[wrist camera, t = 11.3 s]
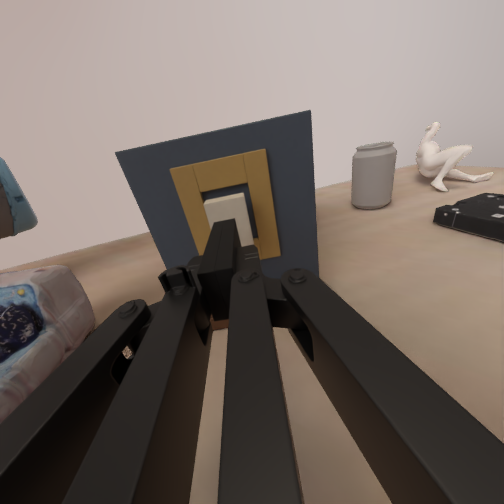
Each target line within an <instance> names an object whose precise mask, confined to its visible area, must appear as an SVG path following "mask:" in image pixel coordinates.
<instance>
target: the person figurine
mask: <svg viewBox="0 0 504 504" xmlns="http://www.w3.org/2000/svg"><path fill="white" fill-rule="evenodd" d="M439 128H440V123H438V122H434V123H433V124H432V125H431V126H427V128H426V131H428V130H429V132H427V133H426V135H425V137H424V138H423V139H422V140H421V142H420V146H419V149H418V151H417V153H416V156H417V158H416V162H417V165H418V170H419V172H420V173H421V174H422V175H423V176H425V177H434V176H437V177H436V178H435V179H434V180H433V182H432V183H431V185H432V186H434V187H436V188H437V189H439V190H442V191H445V192H448V191H449V190H448V189H447V188H446V187H445V186H444V184H443V182H442V179H443V177H444V176H445V175H446V176H447V177H448V178H457V179H465V180H469V181H472V182H474V183H475V182H480V181H485V180H488V179H489V178H490V177H491V176H492V175H493V173H494V172H490V173H486V174H482V175H468V174H465V173H463V172H461V171H459V170H458V169H452V168H453V167H454V166H456V164H457V163H458V162H459V161H460V160H462V159H463V158H464V157H465V156H467V155H468V154H469V153H470V152H471V151H472V150H473V146H472V145H461V146H460V145H459V146H453V147H450V148H447V149H444V150H442V151H441V150H440V147H439V145H438V144H437V143H436V142H434V141H431V139H432V138H433V137H434V136H435V135H436V133H437V131H438V129H439Z"/></svg>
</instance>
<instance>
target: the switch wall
mask: <svg viewBox="0 0 504 504" xmlns="http://www.w3.org/2000/svg"><path fill="white" fill-rule="evenodd" d="M115 154H116V156H117V159H118V161H119V163H120V165H121V168H122V170H123V172H124V174H125V177H126V179H127V181H128V183H129V185H130V187H131V190H132V192H133V195H134V197H135V199H136V201H137V204H138V206H139V208H140V210H141V212H142V215H143V217H144V219H145V221H146V224H147V226H148V228H149V230H150V233H151V235H152V237H153V239H154V242H155V244H156V246H157V248H158V251H159V253H160V255H161V257H162V260H163V262H164V264H165V266H166V269H169V268H172V267H175V266H179V265H185V266H187V264H188V262H189V261H190V260H191V259H192V258H193V257H195V256H200V255H203V253H204V250H205V247H206V244H207V241H208V238H209V235H210V232H211V228H210V225H209V222H208V218H207V215H206V212H205V208H204V205H203V204H204V203H205V201H206V200H209V199H214V198H219V197H224V196H228V195H233V194H238V193H244V197H245V202H246V206H247V211H248V216H249V221H250V226H251V231H252V236H253V241H254V245H255V246H256V247H257V248H258V252H259V258H260V263H261V268H262V273H263V274H264V275H265V276H267V277H269V278H275V279H280V278H281V275H282V274H283V273H284V272H286V271H288V270H291V269H295V268H303V269H307V270H309V271H311V272H313V273H314V274H315V275H316V276H317V277H318V278H319V265H318V245H317V224H316V204H315V183H314V163H313V143H312V122H311V111H310V110H308V111H303V112H298V113H294V114H289V115H284V116H280V117H275V118H271V119H266V120H261V121H257V122H252V123H248V124H243V125H238V126H234V127H230V128H225V129H220V130H216V131H211V132H206V133H202V134H197V135H192V136H188V137H183V138H179V139H174V140H169V141H165V142H160V143H156V144H151V145H146V146H142V147H137V148H133V149H128V150H123V151H119V152H115ZM210 322H211V325H212V328H213V330H217V329H223V328H228V325H229V319H226V320H221V321H215V322H214V319H213V317H212V314H211V318H210Z"/></svg>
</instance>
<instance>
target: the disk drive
mask: <svg viewBox="0 0 504 504" xmlns="http://www.w3.org/2000/svg"><path fill="white" fill-rule="evenodd" d="M433 222H434V223H437V224H439V225H442V226H446V227H450V228H453V229H457V230H461V231H464V232H468V233H472V234H475V235H479V236H483V237H487V238H491V239H496V240H499V241H502V242H504V195H503V194H494V193H483V194H480V195H477V196H474V197H470V198H468V199H464V200H460V201H458V202H457V203H456V204H454V205H445V206H442V207H439V208H436V211H435V215H434V220H433Z"/></svg>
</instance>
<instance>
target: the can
mask: <svg viewBox="0 0 504 504" xmlns="http://www.w3.org/2000/svg"><path fill="white" fill-rule="evenodd" d="M393 144H394V143H393V142H381V143H374V144H368V145H364V146H360V147H357V148H356V149H357V152H356V153H355V155H354V156H353V162H352V165H353V166H352V193H351V203H352V204H353V205H355V207H357V208H360V209H377V208H381V207H384V206H385V205H386V204H388V203H389V202H390V201H391V196H392V188H393V179H394V171H395V163H396V154H397V150H396V149H395V148H394V147H393Z"/></svg>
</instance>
